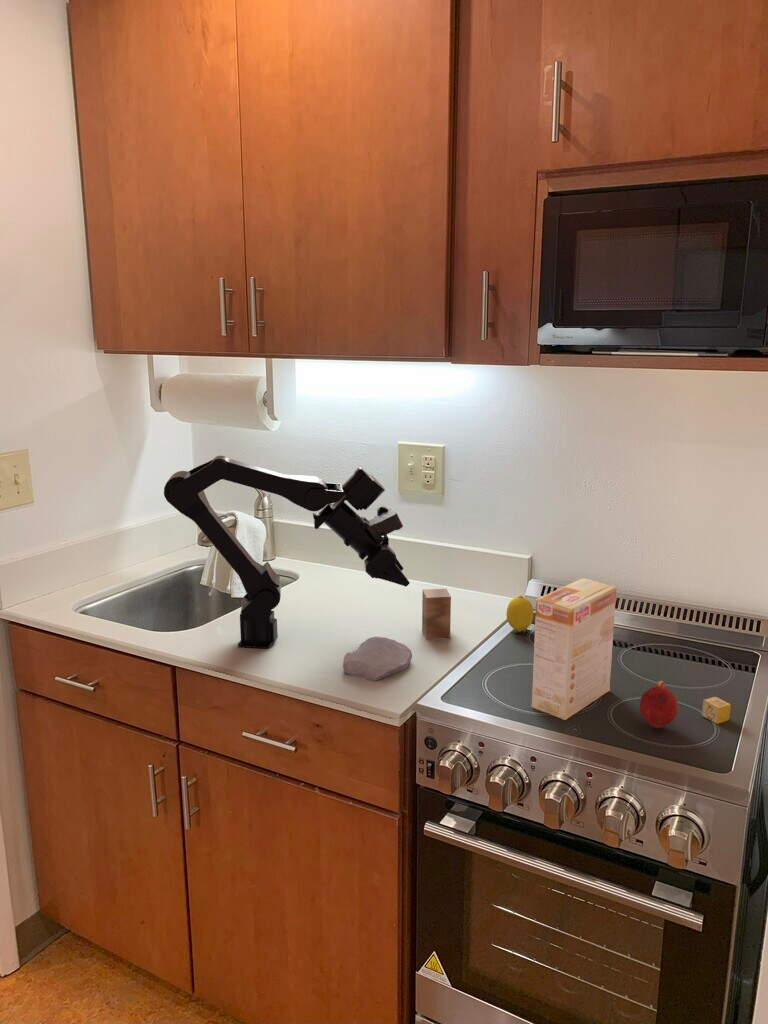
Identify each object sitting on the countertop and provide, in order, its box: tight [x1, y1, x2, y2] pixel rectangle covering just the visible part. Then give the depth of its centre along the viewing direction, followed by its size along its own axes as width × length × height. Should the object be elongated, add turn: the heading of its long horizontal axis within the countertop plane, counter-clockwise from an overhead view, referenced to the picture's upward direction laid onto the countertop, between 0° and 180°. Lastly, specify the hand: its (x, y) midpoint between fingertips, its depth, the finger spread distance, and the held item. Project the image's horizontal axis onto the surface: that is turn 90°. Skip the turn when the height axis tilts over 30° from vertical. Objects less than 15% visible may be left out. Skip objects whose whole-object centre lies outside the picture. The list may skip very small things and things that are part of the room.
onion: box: [639, 680, 679, 729], centre depth 129 cm, size 6×6×8 cm
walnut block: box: [421, 588, 452, 640], centre depth 167 cm, size 5×5×9 cm
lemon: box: [506, 594, 535, 633], centre depth 168 cm, size 6×6×8 cm
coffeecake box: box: [531, 577, 618, 721], centre depth 138 cm, size 15×7×20 cm, turn 136°
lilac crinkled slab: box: [342, 636, 413, 682], centre depth 153 cm, size 12×5×10 cm
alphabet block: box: [701, 696, 732, 725], centre depth 133 cm, size 3×3×3 cm
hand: (404, 577), depth 165 cm, fingers open, 9 cm apart
